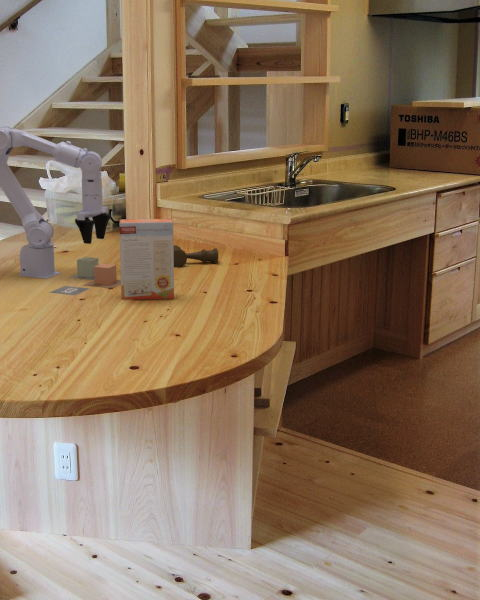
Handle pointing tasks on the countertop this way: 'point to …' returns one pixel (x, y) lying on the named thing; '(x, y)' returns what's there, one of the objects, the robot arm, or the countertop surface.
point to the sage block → (86, 267)
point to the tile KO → (69, 290)
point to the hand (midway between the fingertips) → (94, 241)
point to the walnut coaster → (104, 285)
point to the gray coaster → (82, 277)
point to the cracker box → (146, 259)
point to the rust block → (105, 274)
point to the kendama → (194, 256)
